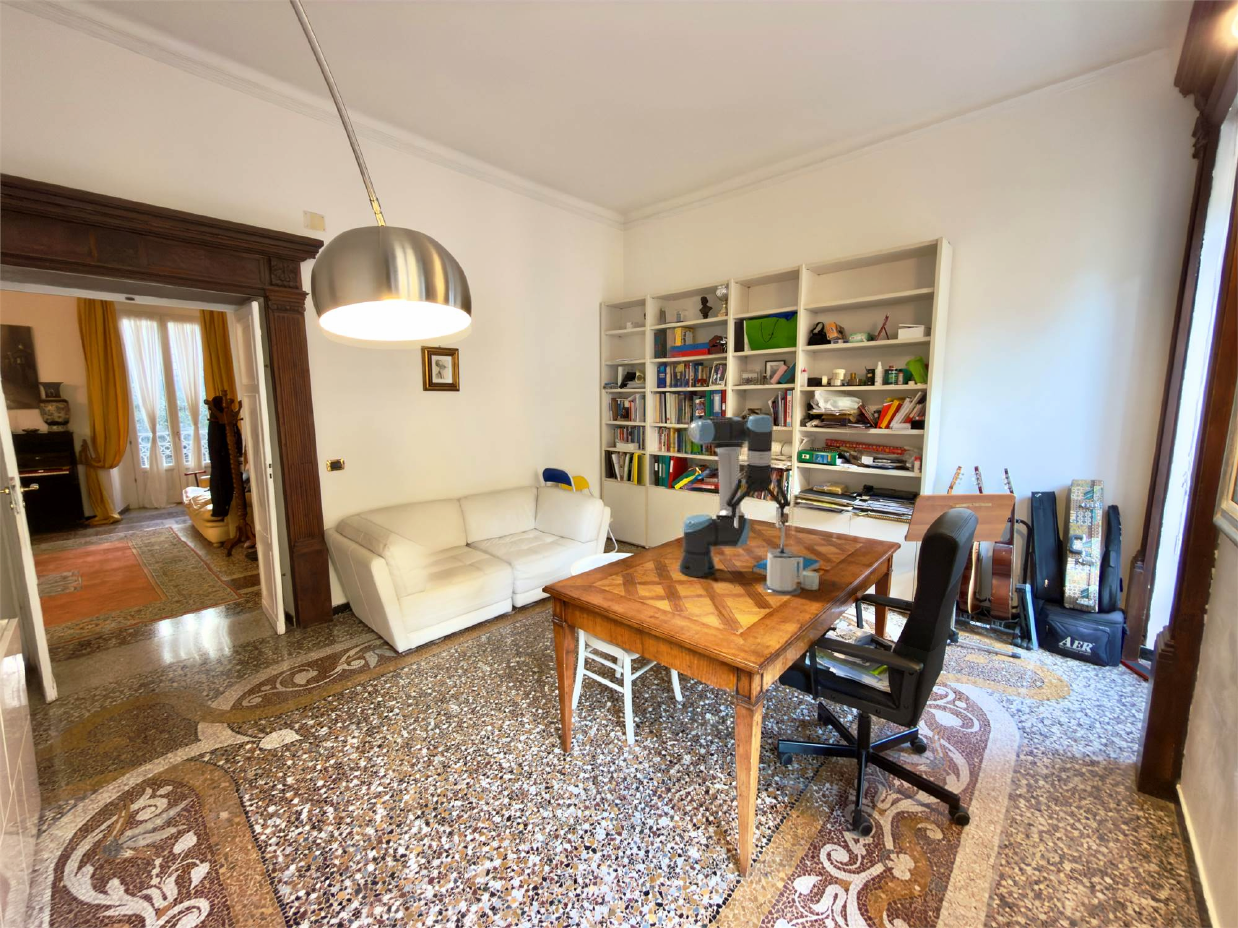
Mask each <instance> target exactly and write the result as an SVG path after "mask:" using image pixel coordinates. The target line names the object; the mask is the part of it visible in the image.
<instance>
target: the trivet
mask: <svg viewBox="0 0 1238 928" xmlns="http://www.w3.org/2000/svg"><path fill="white" fill-rule="evenodd" d="M761 588H762V590H764V591H765V592H767V593H770V594H773V595H778V596H795V595H799V594H800V593H801V591H802V589H801V588H802V587H800V586H798V585H797V584H796V591H794V592H792V593H777V592H774V591H771V590H769V589H768V588H767V581H765V582H763V583H762V584H761Z"/></svg>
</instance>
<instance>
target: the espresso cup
mask: <svg viewBox="0 0 1238 928" xmlns="http://www.w3.org/2000/svg"><path fill="white" fill-rule="evenodd" d="M819 578H820V574H819V573H818V572H817V571H814V570H811V571H803V573H802V582H800V584H801V585H800V586H801V588H803V589H805V590H809V591H816V590H819V581H820V579H819Z"/></svg>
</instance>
